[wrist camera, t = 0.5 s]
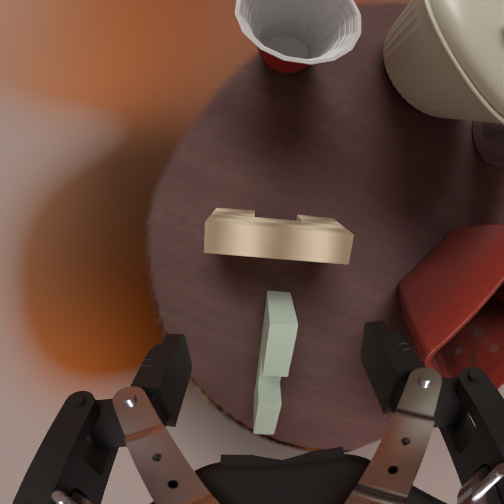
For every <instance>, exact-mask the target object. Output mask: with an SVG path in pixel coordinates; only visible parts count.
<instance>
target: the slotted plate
mask: <svg viewBox="0 0 504 504" xmlns="http://www.w3.org/2000/svg"><path fill="white" fill-rule="evenodd" d="M353 237H354V235H353V234H352V233H351V232H350V231H348V230H347V229H346V228H345V227H343V226H342V225H341V224H339V223H338V222H337V221H336V220H334V219H333V218H325V217H316V216H306V215H297V217H296V221H293V220H282V219H271V218H260V217H255V211H253V210H240V209H227V208H216V209H215V211H214V212H213V213H212V214H211V215H210V216H209V218H208V219H207V220H206V221H205V239H204V253H213V254H225V255H237V256H249V257H261V258H273V259H286V260H298V261H311V262H324V263H336V264H349V259H350V254H351V248H352V243H353Z"/></svg>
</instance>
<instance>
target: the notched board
mask: <svg viewBox="0 0 504 504" xmlns="http://www.w3.org/2000/svg"><path fill="white" fill-rule="evenodd" d="M297 329H298V322H297V318H296V314H295V310H294V306H293V302H292V297H291V293H290V292H280V291H267V297H266V305H265V314H264V322H263V330H262V338H261V346H260V354H259V362H258V370H257V378H256V385H255V393H254V431H253V434H274V432H275V428H276V424H277V420H278V416H279V412H280V408H281V404H282V402H281V391H280V380H281V377H288V373H289V368H290V364H291V359H292V354H293V349H294V344H295V339H296V334H297Z"/></svg>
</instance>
